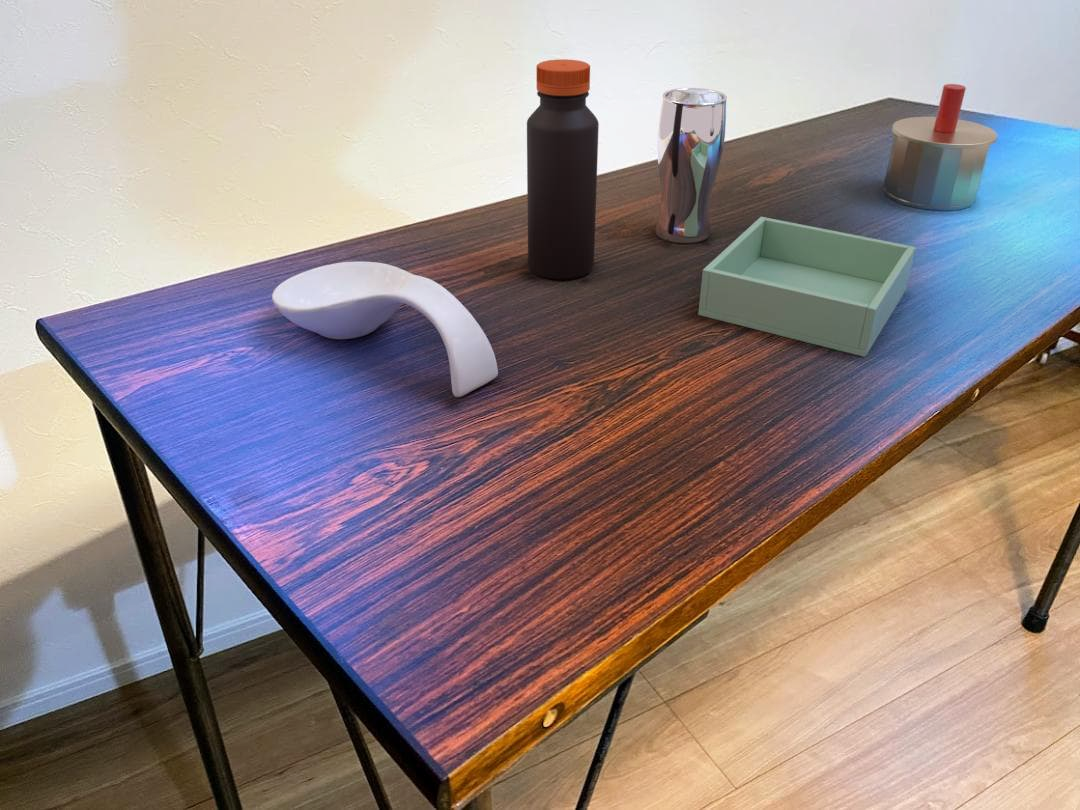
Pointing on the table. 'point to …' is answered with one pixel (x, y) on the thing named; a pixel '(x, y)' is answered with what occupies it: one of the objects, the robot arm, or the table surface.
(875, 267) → the tray
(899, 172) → the pot
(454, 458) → the table surface
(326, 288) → the spoon rest
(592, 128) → the bottle
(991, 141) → the lid
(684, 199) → the silver metal tumbler
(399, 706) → the table surface
